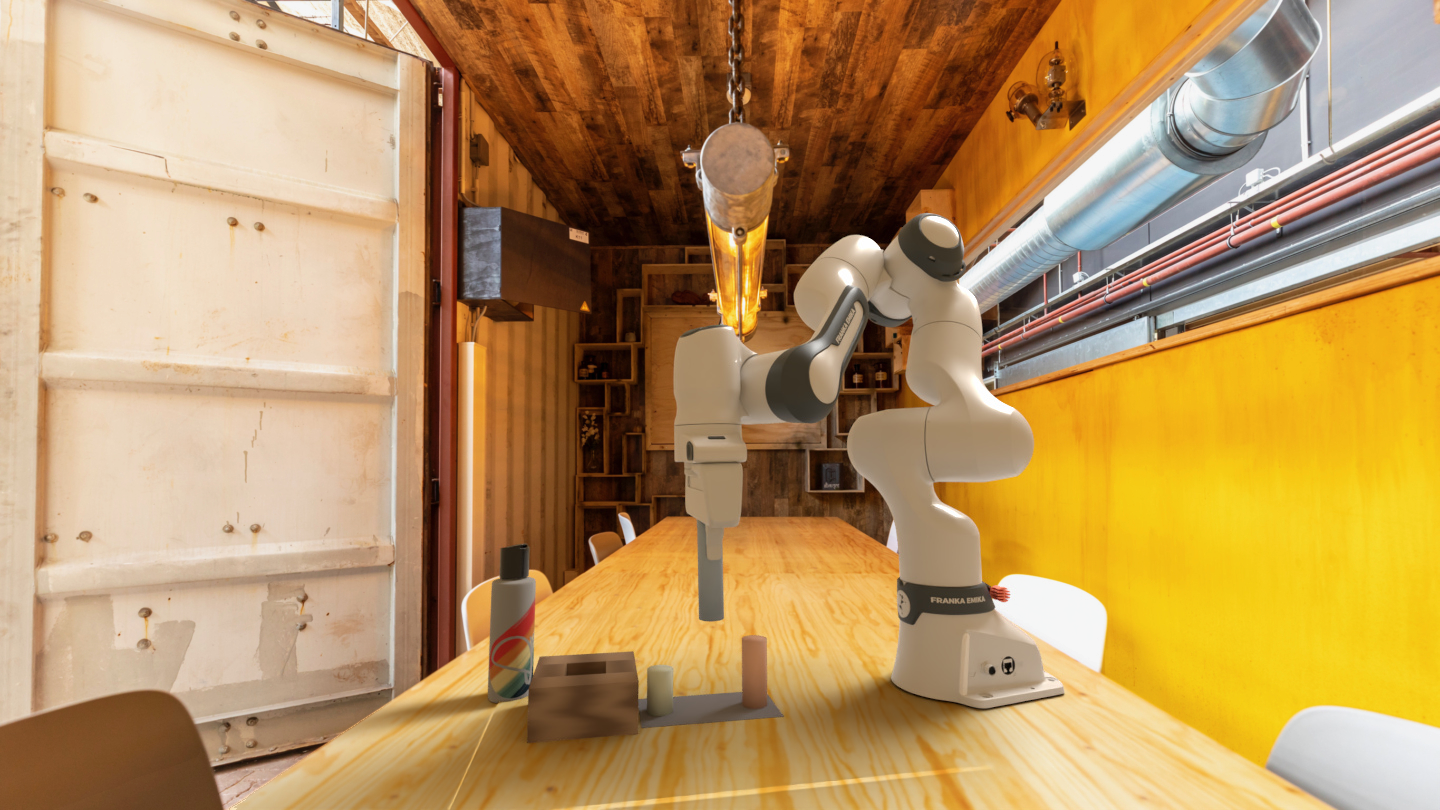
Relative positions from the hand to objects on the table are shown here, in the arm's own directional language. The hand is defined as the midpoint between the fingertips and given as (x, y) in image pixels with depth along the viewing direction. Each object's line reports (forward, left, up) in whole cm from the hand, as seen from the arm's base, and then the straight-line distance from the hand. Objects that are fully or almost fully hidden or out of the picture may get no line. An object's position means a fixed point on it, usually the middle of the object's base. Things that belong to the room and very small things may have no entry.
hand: (710, 556), depth 78 cm
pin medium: (-6, 0, -18) cm, 19 cm away
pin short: (+6, 0, -19) cm, 19 cm away
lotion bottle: (+25, -10, -19) cm, 33 cm away
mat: (0, 0, -19) cm, 19 cm away
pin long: (0, 0, -8) cm, 8 cm away
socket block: (+15, 0, -19) cm, 24 cm away
